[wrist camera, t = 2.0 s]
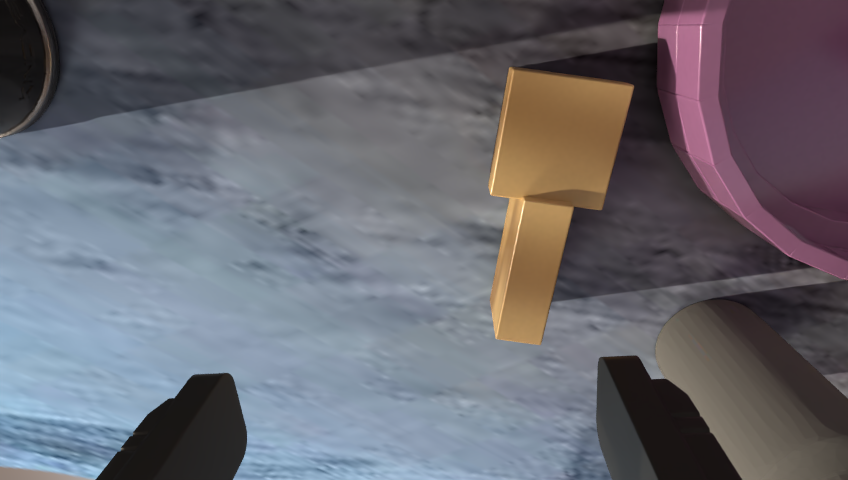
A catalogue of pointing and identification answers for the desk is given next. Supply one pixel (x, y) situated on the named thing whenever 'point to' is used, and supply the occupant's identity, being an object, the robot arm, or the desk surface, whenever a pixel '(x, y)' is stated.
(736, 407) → the bottle
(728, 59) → the bowl
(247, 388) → the desk surface
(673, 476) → the robot arm
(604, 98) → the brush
